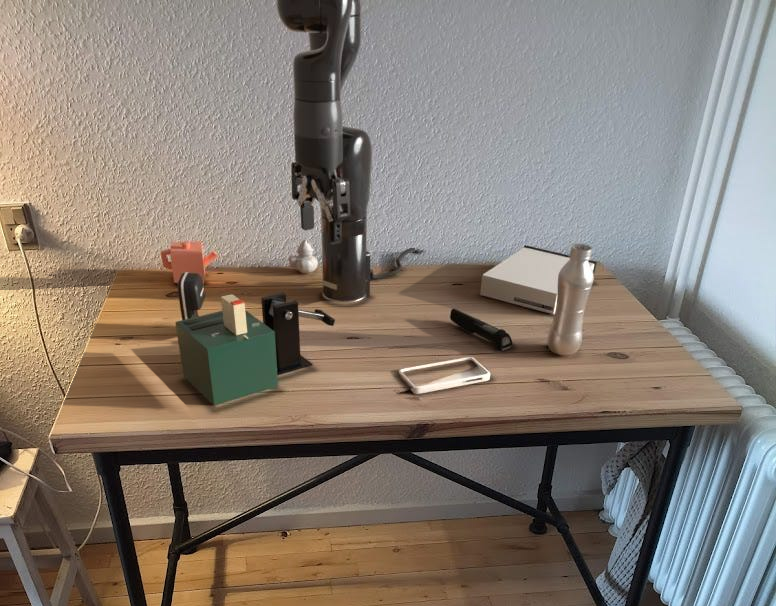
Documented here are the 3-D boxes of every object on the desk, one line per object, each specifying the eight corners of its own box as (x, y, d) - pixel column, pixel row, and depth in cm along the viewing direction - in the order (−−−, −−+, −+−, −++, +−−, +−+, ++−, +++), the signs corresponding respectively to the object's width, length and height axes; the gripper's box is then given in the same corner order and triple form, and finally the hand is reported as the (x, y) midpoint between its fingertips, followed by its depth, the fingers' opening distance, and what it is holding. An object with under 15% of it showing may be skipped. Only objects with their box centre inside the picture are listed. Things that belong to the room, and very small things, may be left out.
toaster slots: (232, 310, 131) (232, 309, 131) (242, 317, 129) (242, 317, 129) (183, 322, 127) (183, 321, 127) (192, 330, 125) (192, 329, 125)
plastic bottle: (581, 347, 149) (602, 243, 137) (576, 362, 144) (597, 256, 131) (548, 341, 150) (566, 238, 138) (542, 356, 145) (560, 250, 133)
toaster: (245, 363, 140) (240, 305, 133) (279, 391, 132) (275, 331, 125) (184, 381, 134) (175, 320, 127) (215, 411, 126) (207, 348, 119)
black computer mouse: (204, 342, 146) (197, 283, 139) (184, 342, 146) (176, 283, 139) (210, 326, 151) (203, 269, 144) (190, 326, 151) (183, 269, 144)
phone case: (471, 362, 142) (397, 375, 138) (471, 355, 142) (397, 369, 137) (490, 380, 137) (414, 395, 132) (491, 373, 136) (415, 388, 131)
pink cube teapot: (221, 284, 168) (217, 247, 163) (164, 287, 166) (159, 249, 161) (220, 271, 174) (216, 235, 169) (165, 274, 172) (159, 237, 167)
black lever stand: (293, 354, 143) (289, 288, 135) (312, 369, 138) (310, 301, 131) (254, 365, 139) (248, 297, 131) (273, 381, 135) (268, 312, 127)
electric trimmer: (458, 320, 158) (459, 305, 156) (513, 346, 148) (515, 331, 146) (445, 324, 156) (446, 309, 154) (499, 351, 146) (501, 336, 144)
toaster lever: (317, 319, 141) (321, 306, 140) (332, 329, 138) (336, 316, 137) (264, 310, 133) (267, 296, 132) (278, 320, 130) (282, 306, 129)
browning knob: (223, 325, 126) (220, 295, 123) (235, 323, 127) (231, 292, 124) (236, 335, 123) (233, 304, 120) (247, 332, 124) (244, 301, 121)
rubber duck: (319, 276, 174) (318, 240, 169) (290, 277, 173) (288, 241, 168) (316, 267, 178) (315, 232, 173) (287, 268, 177) (285, 233, 172)
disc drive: (592, 282, 175) (597, 261, 172) (554, 315, 160) (558, 292, 157) (522, 266, 182) (525, 245, 179) (479, 295, 167) (481, 273, 164)
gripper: (364, 137, 116) (363, 244, 127) (314, 119, 125) (317, 221, 135) (322, 143, 113) (324, 252, 123) (274, 124, 122) (280, 228, 132)
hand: (320, 236), depth 129 cm, fingers open, 8 cm apart
